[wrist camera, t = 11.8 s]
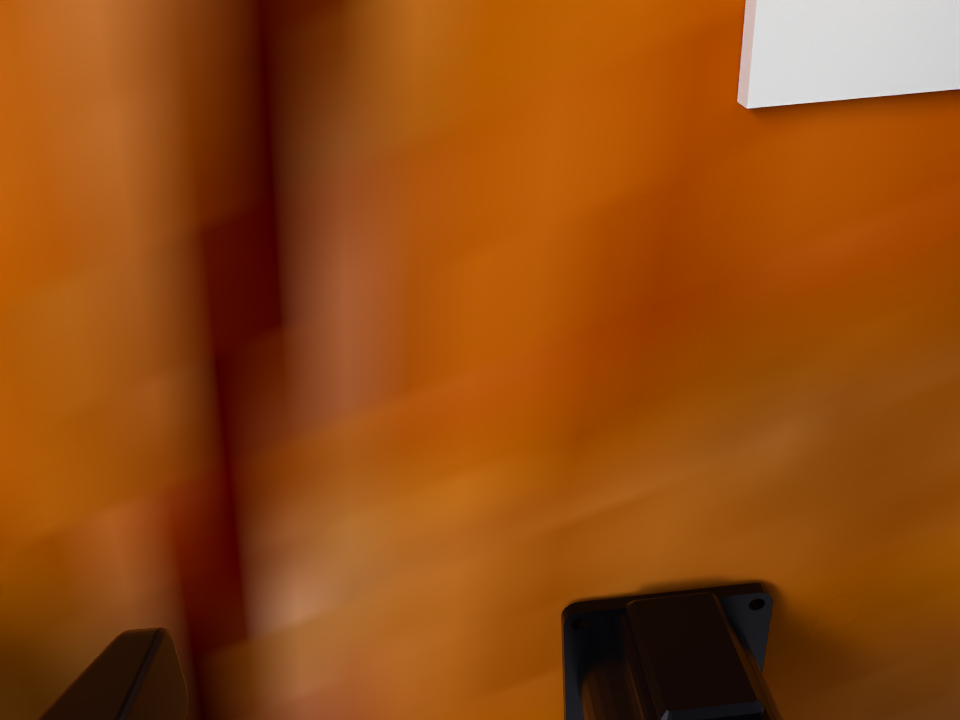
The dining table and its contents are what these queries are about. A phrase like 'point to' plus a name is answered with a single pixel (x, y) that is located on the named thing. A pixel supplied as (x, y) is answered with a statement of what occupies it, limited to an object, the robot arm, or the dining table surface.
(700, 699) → the robot arm
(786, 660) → the dining table surface
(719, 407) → the dining table surface
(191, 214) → the dining table surface
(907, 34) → the white flat square slab
